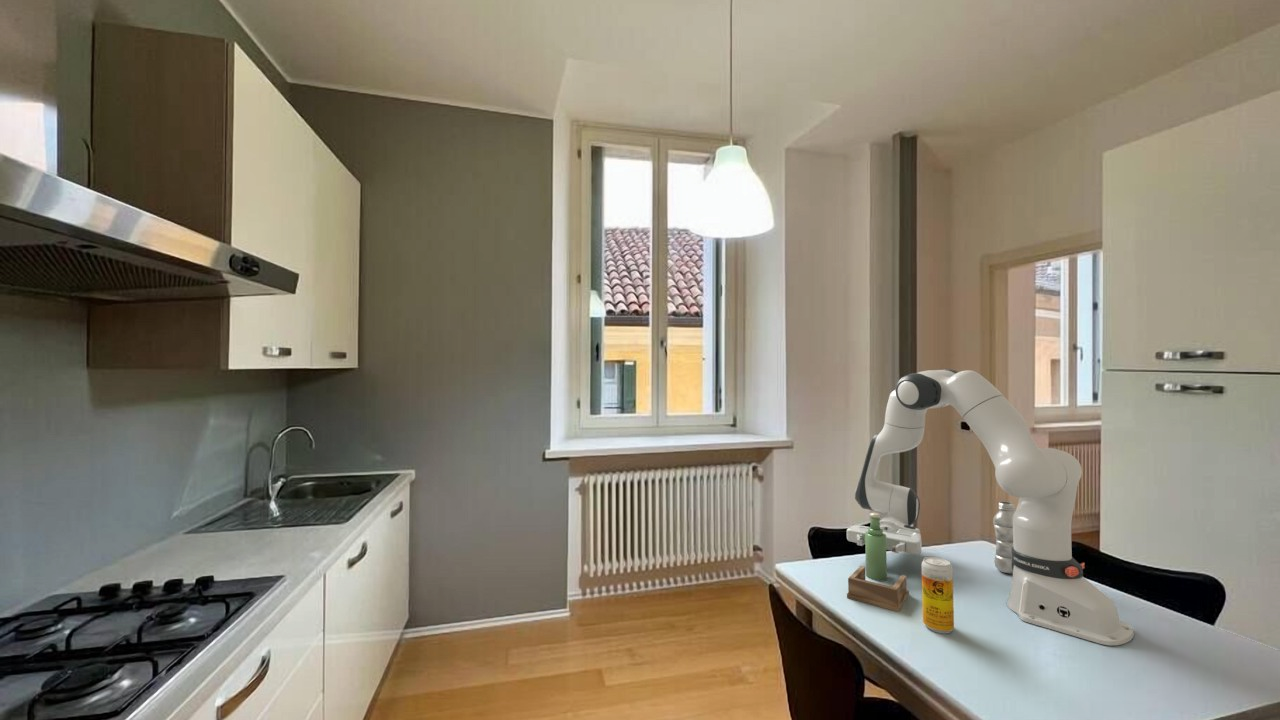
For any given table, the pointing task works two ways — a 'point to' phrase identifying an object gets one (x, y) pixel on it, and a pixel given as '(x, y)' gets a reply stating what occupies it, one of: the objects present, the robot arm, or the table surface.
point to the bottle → (875, 550)
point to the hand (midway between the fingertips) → (876, 546)
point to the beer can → (937, 594)
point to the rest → (877, 591)
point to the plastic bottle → (1004, 536)
